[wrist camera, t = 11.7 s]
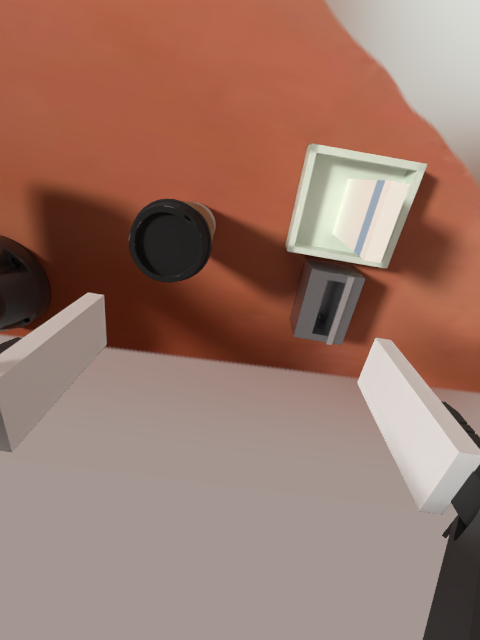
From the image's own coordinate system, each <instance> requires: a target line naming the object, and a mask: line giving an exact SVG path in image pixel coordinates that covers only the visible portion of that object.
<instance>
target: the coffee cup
mask: <svg viewBox="0 0 480 640" xmlns="http://www.w3.org/2000/svg"><path fill="white" fill-rule="evenodd" d="M215 229H216V222H215V218H214V215H213V214H212V212H211V211H210V210H209V208H207V207H206V206H205V205H203V204H201V203H197V202H183V201H179V200H175V199H161V200H157V201H154V202H152V203H150V204H149V205H147V206H146V207H144V208H143V209H142V210H141V211H140V212H139V214H138V215H137V217H136V219H135V220H134V223H133V225H132V228H131V231H130V236H129V248H130V252H131V256H132V258H133V260H134V262H135V263H136V265H137V266H138V268H139V269H140V270H141V271H142V272H143V273H144V274H146V275H147V276H149V277H150V278H152V279H155V280H157V281H161V282H177V281H182V280H185V279H188V278H190V277H192V276H194V275H195V274H197V273H198V272H199V271H200V270H202V269H203V267H204V266H205V264H206V263H207V261H208V259H209V257H210V253H211V244H212V240H213V236H214V233H215Z"/></svg>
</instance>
